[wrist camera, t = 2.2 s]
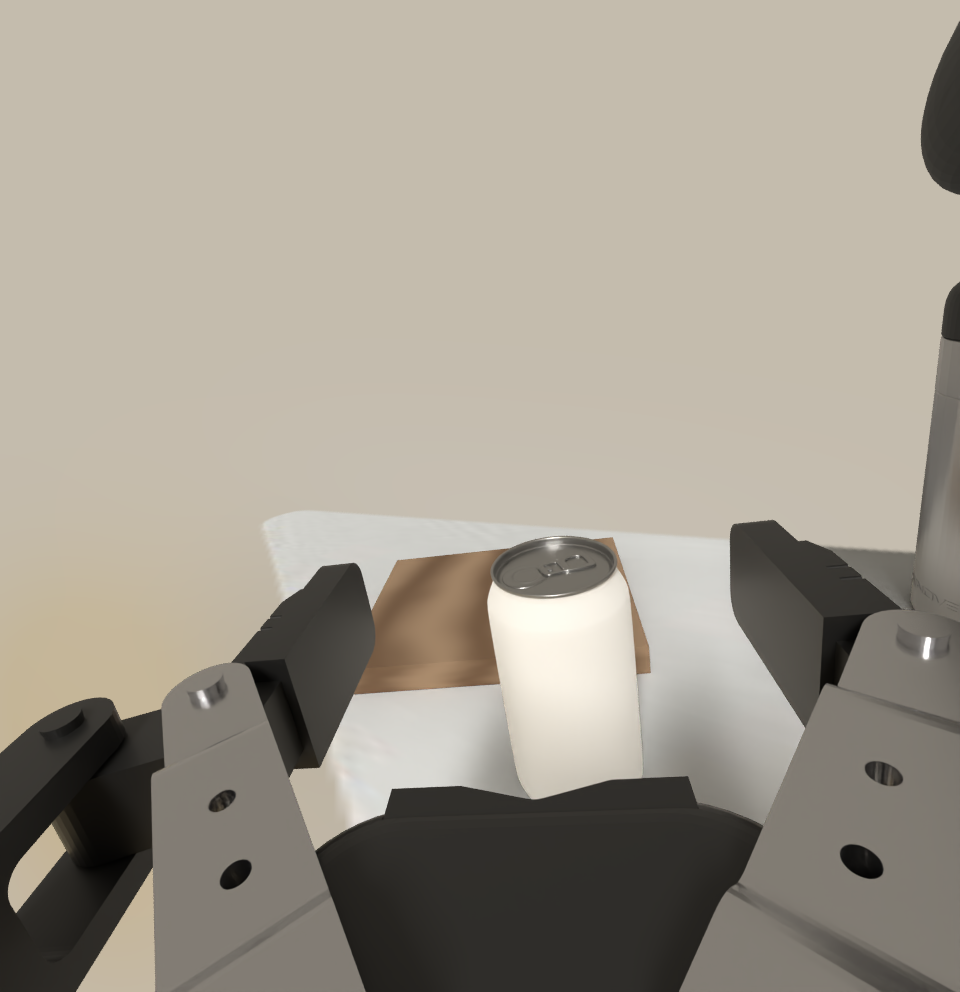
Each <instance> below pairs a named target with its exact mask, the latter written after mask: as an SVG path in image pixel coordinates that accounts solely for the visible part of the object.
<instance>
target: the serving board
mask: <svg viewBox="0 0 960 992" xmlns="http://www.w3.org/2000/svg"><path fill="white" fill-rule="evenodd" d="M593 540H596V541H598V542H601V543H603V544H605V545H606V546H608V547H609V548H610V549H612V550H613V552H614V553H615V555H616V557H617V569H618V570H619V571H620V573H621V574H622V576H623V578H624V579H625V581H626V583H627V586H628V589H629V594H630V603H631V614H632V625H633V637H634V649H635V661H636V674H642V673H651V672H650V657H649V645H648V642H647V639H646V636H645V633H644V630H643V627H642V624H641V621H640V618H639V615H638V612H637V609H636V606H635V603H634V600H633V597H632V594H631V591H630V588H629V585H628V582H627V579H626V576H625V573H624V570H623V567H622V564H621V561H620V558H619V555H618V552H617V549H616V546H615V543H614V540H613V537H612V538H602V539H593ZM509 549H510V548H509ZM507 550H508V549H500V550H490V551H481V552H472V553H463V554H453V555H444V556H435V557H425V558H416V559H407V560H397V562H396V564H395V566H394V568H393V570H392V572H391V574H390V576H389V578H388V580H387V582H386V583H385V585H384V587H383V589H382V591H381V593H380V595H379V597H378V599H377V601H376V603H375V605H374V607H373V609H372V611H371V612H372V616H373V620H374V624H375V646H374V650H373V653H372V655H371V657H370V659H369V662H368V664H367V666H366V668H365V670H364V672H363V675H362V677H361V679H360V681H359V683H358V685H357V688H356V690H355V692H354V694H363V693H377V692H391V691H405V690H419V689H433V688H447V687H461V686H475V685H489V684H500V679H499V673H498V668H497V662H496V656H495V651H494V645H493V639H492V633H491V627H490V621H489V615H488V605H487V600H488V595H489V591H490V588H491V585H492V582H493V580H492V578H491V567H492V564H493V563H494V561H495V560H496V559H497V558H498V557H499V556H500V555H501V554H502V553H504V552H505V551H507Z"/></svg>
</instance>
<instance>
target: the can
mask: <svg viewBox="0 0 960 992" xmlns="http://www.w3.org/2000/svg"><path fill="white" fill-rule="evenodd" d="M491 578H492V580H493V582H492V585H491V588H490V591H489V595H488V600H487V605H488V615H489V621H490V627H491V633H492V639H493V645H494V651H495V656H496V662H497V668H498V673H499V679H500V685H501V690H502V696H503V702H504V707H505V713H506V718H507V724H508V729H509V735H510V740H511V746H512V751H513V756H514V762H515V767H516V771H517V775H518V778H519V781H520V783H521V785H522V787H523V789H524V790H525V792H526V793H527V794H528V796H529V797H530V798H531V799H541V798H545V797H549V796H553V795H556V794H560V793H564V792H567V791H571V790H575V789H578V788H582V787H586V786H589V785H593V784H597V783H601V782H604V781H608V780H614V779H638V778H642V775H643V754H642V740H641V726H640V713H639V700H638V687H637V674H636V661H635V649H634V637H633V625H632V614H631V603H630V594H629V589H628V586H627V583H626V581H625V579H624V578H623V576H622V574H621V573H620V571H619V570H618V569H617V557H616V555H615V553H614V552H613V550H612V549H610V548H609V547H608V546H606V545H605V544H603V543H601V542H598V541H596V540H592V539H588V538H583V537H575V536H555V537H546V538H540V539H535V540H531V541H527V542H524V543H521V544H519V545H516V546H514V547H512V548H510V549H508V550H507V551H505V552H504V553H502V554H501V555H500V556H499V557H498V558H497V559H496V560H495V561H494V563H493V564H492V567H491Z"/></svg>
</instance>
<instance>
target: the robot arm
mask: <svg viewBox="0 0 960 992" xmlns="http://www.w3.org/2000/svg"><path fill="white" fill-rule="evenodd" d="M921 147H922V155H923V159H924V162H925V165H926V168H927V170H928V172H929V173H930V175H931V177H932V179H933V180H934V181H935V182H936V183H937V184H939V185H940V186H941V187H942V188H943V189H945V190H948V191H950V192H953V193H955V194H959V195H960V22H959V23H958V26H957V27H956V29H955V31H954V33H953V35H952V37H951V39H950V41H949V43H948V45H947V47H946V49H945V51H944V53H943V55H942V58H941V60H940V63H939V65H938V68H937V70H936V73H935V75H934V78H933V81H932V84H931V87H930V91H929V94H928V97H927V102H926V106H925V110H924V115H923V120H922V128H921ZM941 334H942V337H941V341H940V349H939V358H938V366H937V375H936V384H935V394H934V403H933V411H932V419H931V427H930V436H929V444H928V454H927V461H926V469H925V478H924V486H923V495H922V504H921V512H920V520H919V528H918V537H917V545H916V553H915V562H914V570H913V574H912V587H911V604H912V606H913V608H914V610H902V609H901V608H900V607H899V606H897V605H896V604H895V603H894V602H893V601H891V600H890V599H889V598H888V597H887V596H885V595H884V594H883V593H882V592H881V591H879V590H878V589H877V588H876V587H875V586H873V585H872V584H871V583H870V582H869V581H867V580H866V579H862V577H861V575H860V574H859V573H858V572H856V571H855V570H854V569H853V568H852V567H848V564H847V563H846V562H844V561H843V560H842V559H841V558H840V557H838V556H837V555H836V554H835V553H833V552H832V551H831V550H828V549H826V548H823V547H821V546H818V545H816V544H814V543H811V542H809V541H797V540H796V539H795V538H794V537H793V536H792V535H790V534H789V533H788V532H787V531H786V530H785V529H784V528H782V526H780V525H779V524H778V523H777V522H776V521H774V520H768V521H759V522H750V523H739V524H734V525H733V526H732V528H731V533H730V592H731V602H732V607H733V611H734V614H735V617H736V620H737V622H738V624H739V625H740V627H741V628H742V630H743V631H744V633H745V635H746V636H747V638H748V639H749V641H750V642H751V644H752V646H753V647H754V649H755V650H756V652H757V653H758V655H759V656H760V658H761V660H762V661H763V663H764V664H765V666H766V667H767V669H768V670H769V672H770V674H771V675H772V677H773V678H774V680H775V681H776V683H777V684H778V686H779V688H780V689H781V691H782V692H783V694H784V695H785V697H786V698H787V700H788V702H789V703H790V705H791V706H792V708H793V709H794V711H795V712H796V714H797V716H798V717H799V719H800V720H801V722H802V723H803V725H804V726H805V731H804V733H803V735H802V738H801V740H800V742H799V745H798V747H797V749H796V752H795V754H794V756H793V759H792V761H791V763H790V766H789V768H788V770H787V773H786V775H785V777H784V780H783V782H782V784H781V787H780V789H779V791H778V794H777V796H776V798H775V801H774V803H773V805H772V808H771V810H770V812H769V815H768V817H767V819H766V822H765V824H764V826H763V825H761V824H759V823H757V822H755V821H753V820H751V819H748V818H746V817H743V816H741V815H738V814H736V813H733V812H731V811H728V810H724V809H721V808H717V807H714V806H711V805H706V804H701V803H697V802H696V799H695V796H694V793H693V790H692V787H691V784H690V781H689V778H688V776H685V777H661V778H638V779H614V780H608V781H604V782H601V783H597V784H593V785H589V786H586V787H582V788H578V789H575V790H571V791H567V792H564V793H560V794H556V795H553V796H549V797H545V798H541V799H525V798H519V797H514V796H509V795H504V794H499V793H494V792H489V791H483V790H478V789H473V788H468V787H463V786H451V787H427V788H404V789H392V791H391V794H390V798H389V801H388V805H387V808H386V811H385V814H384V815H381V816H377V817H375V818H372V819H369V820H367V821H364V822H362V823H359V824H357V825H355V826H353V827H351V828H349V829H347V830H345V831H344V832H342V833H340V834H339V835H337V836H336V837H334V838H333V839H331V840H329V841H328V842H326V843H325V844H324V845H322V846H321V847H320V848H318V849H317V850H316V851H315V850H314V847H313V844H312V841H311V839H310V836H309V833H308V830H307V827H306V825H305V822H304V819H303V816H302V814H301V811H300V808H299V805H298V803H297V799H296V797H295V794H294V792H293V788H292V785H291V783H290V780H289V777H290V775H291V773H292V771H293V769H303V768H319V767H320V766H321V764H322V761H323V759H324V757H325V755H326V753H327V751H328V749H329V746H330V744H331V742H332V740H333V738H334V736H335V733H336V731H337V729H338V727H339V725H340V722H341V720H342V718H343V716H344V714H345V712H346V709H347V707H348V705H349V703H350V701H351V699H352V696H353V694H354V692H355V690H356V688H357V685H358V683H359V681H360V679H361V677H362V675H363V672H364V670H365V668H366V666H367V664H368V662H369V659H370V657H371V655H372V653H373V650H374V646H375V624H374V620H373V616H372V612H371V608H370V604H369V600H368V596H367V592H366V589H365V585H364V581H363V577H362V573H361V570H360V568H359V566H358V565H357V564H356V563H349V564H339V565H330V566H322V567H321V568H320V569H319V570H318V571H317V572H316V574H315V575H314V576H313V577H312V579H311V580H310V581H309V582H308V584H307V585H306V586H305V587H304V589H301V590H299V591H298V592H296V593H295V594H293V595H292V596H291V597H289V598H288V599H286V600H285V601H283V602H282V603H281V604H280V605H279V607H278V608H277V609H276V610H275V611H274V613H273V614H272V615H271V616H270V619H268V620H267V621H266V622H265V623H264V624H263V626H262V627H261V631H258V632H257V633H256V634H255V635H254V636H253V637H252V639H251V640H250V641H249V642H248V643H247V645H246V646H245V647H244V648H243V649H242V651H241V652H240V653H239V654H238V655H237V657H236V658H235V659H234V660H233V661H232V662H231V663H225V664H220V665H216V666H212V667H209V668H207V669H204V670H202V671H199V672H197V673H195V674H193V675H191V676H190V677H188V678H186V679H185V680H183V681H182V682H181V683H179V684H178V685H177V686H175V687H174V688H173V689H172V690H171V691H170V692H169V693H168V694H167V696H166V697H165V699H164V701H163V703H162V708H161V709H160V710H157V711H153V712H149V713H146V714H142V715H139V716H136V717H131V718H128V719H125V720H121V719H120V717H119V715H118V712H117V710H116V708H115V706H114V704H113V702H112V701H111V700H110V699H107V698H91V699H86V700H82V701H79V702H76V703H73V704H70V705H68V706H65V707H63V708H61V709H59V710H57V711H55V712H53V713H51V714H49V715H47V716H46V717H44V718H43V719H41V720H40V721H38V722H37V723H35V724H34V725H32V726H31V727H30V728H29V729H27V730H26V731H25V732H24V733H23V734H21V736H19V737H18V738H17V739H16V740H15V741H14V742H13V743H11V744H10V745H9V746H8V747H7V748H6V749H5V750H4V751H2V752H1V753H0V992H76V990H77V989H78V987H79V986H80V984H81V982H82V981H83V979H84V978H85V976H86V974H87V973H88V971H89V969H90V968H91V966H92V965H93V963H94V961H95V960H96V958H97V957H98V955H99V953H100V951H101V950H102V949H103V947H104V945H105V944H106V942H107V940H108V939H109V937H110V936H111V934H112V932H113V931H114V929H115V927H116V926H117V924H118V923H119V921H120V919H121V918H122V916H123V915H124V913H125V911H126V910H127V908H128V906H129V905H130V903H131V902H132V900H133V899H134V897H135V895H136V893H137V892H138V890H139V889H140V887H141V886H142V884H143V882H144V881H145V879H146V878H147V876H148V874H149V873H150V871H151V869H152V868H153V893H154V938H155V986H156V987H155V992H960V282H959V283H958V284H957V285H956V286H954V287H953V288H952V290H951V291H950V293H949V295H948V297H947V299H946V303H945V308H944V316H943V324H942V333H941ZM51 823H52V825H53V827H54V829H55V830H56V832H57V834H58V836H59V838H60V839H61V841H62V843H63V845H64V847H65V849H66V852H65V853H64V854H63V856H62V857H61V858H60V859H59V860H58V862H57V863H56V864H55V866H54V867H53V868H52V869H51V871H50V872H49V873H48V874H47V875H46V877H45V878H44V879H43V880H42V882H41V883H40V884H39V885H38V887H37V888H36V889H35V890H34V892H33V893H32V894H31V895H30V897H29V898H28V899H27V901H26V902H25V903H24V904H23V906H22V907H21V908H20V909H19V910H18V912H17V913H15V912H14V910H13V908H12V907H11V905H10V903H9V900H8V885H9V881H10V878H11V875H12V873H13V870H14V868H15V867H16V865H17V864H18V862H19V861H20V859H21V858H22V857H23V856H24V854H25V853H26V852H27V851H28V850H29V849H30V847H31V846H32V845H33V844H34V843H35V842H36V841H37V839H38V838H39V837H40V836H41V835H42V833H44V831H45V830H46V829H47V828H48V827H49V826H50V825H51Z"/></svg>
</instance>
